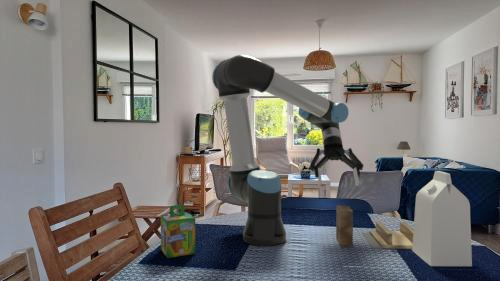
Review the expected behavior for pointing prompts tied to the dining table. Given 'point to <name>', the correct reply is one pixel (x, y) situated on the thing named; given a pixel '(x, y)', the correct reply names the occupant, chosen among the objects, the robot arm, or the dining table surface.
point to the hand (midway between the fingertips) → (338, 184)
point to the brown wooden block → (344, 226)
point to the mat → (374, 243)
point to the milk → (442, 224)
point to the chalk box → (177, 233)
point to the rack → (393, 236)
